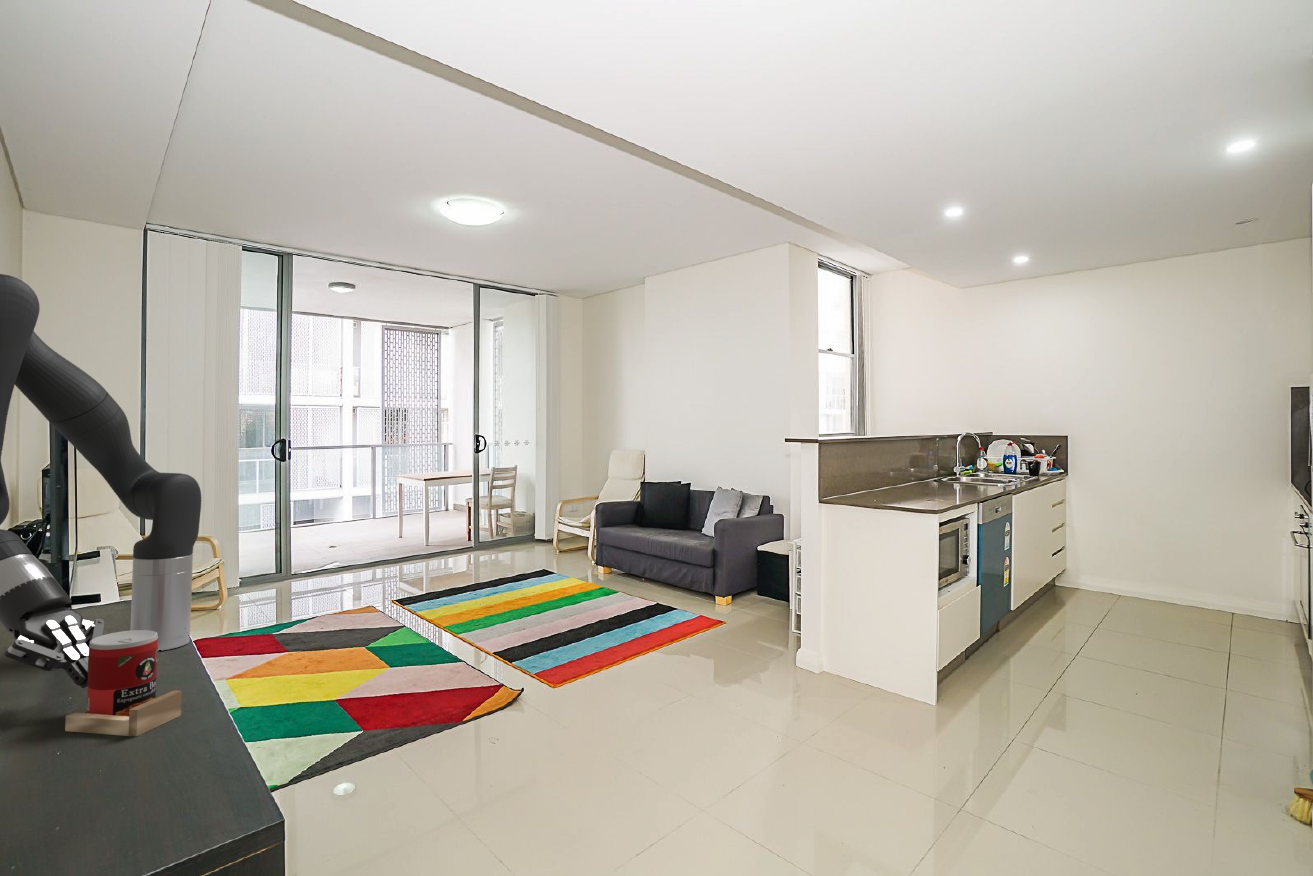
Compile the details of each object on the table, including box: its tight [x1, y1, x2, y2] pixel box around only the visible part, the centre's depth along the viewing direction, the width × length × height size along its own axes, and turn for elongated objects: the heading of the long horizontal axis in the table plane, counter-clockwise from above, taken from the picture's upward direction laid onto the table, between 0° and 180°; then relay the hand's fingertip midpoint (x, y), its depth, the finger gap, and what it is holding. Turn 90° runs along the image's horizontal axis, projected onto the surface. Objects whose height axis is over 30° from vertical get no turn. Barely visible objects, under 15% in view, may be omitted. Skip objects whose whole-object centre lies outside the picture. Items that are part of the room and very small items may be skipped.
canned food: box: [86, 630, 159, 717], centre depth 93 cm, size 8×8×11 cm
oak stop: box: [64, 689, 183, 738], centre depth 90 cm, size 11×7×4 cm, turn 83°
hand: (93, 682), depth 94 cm, fingers closed
